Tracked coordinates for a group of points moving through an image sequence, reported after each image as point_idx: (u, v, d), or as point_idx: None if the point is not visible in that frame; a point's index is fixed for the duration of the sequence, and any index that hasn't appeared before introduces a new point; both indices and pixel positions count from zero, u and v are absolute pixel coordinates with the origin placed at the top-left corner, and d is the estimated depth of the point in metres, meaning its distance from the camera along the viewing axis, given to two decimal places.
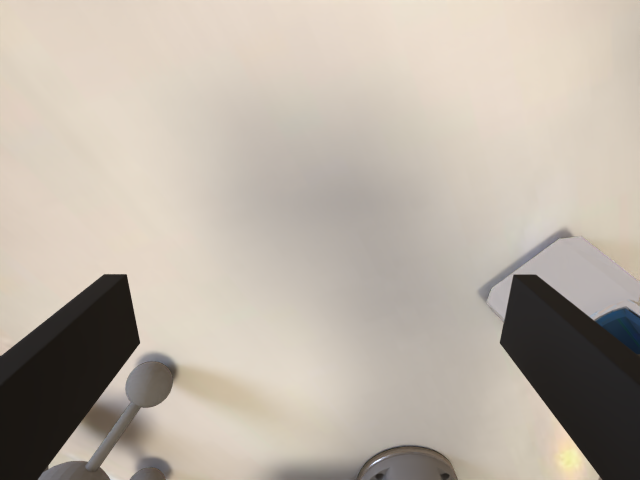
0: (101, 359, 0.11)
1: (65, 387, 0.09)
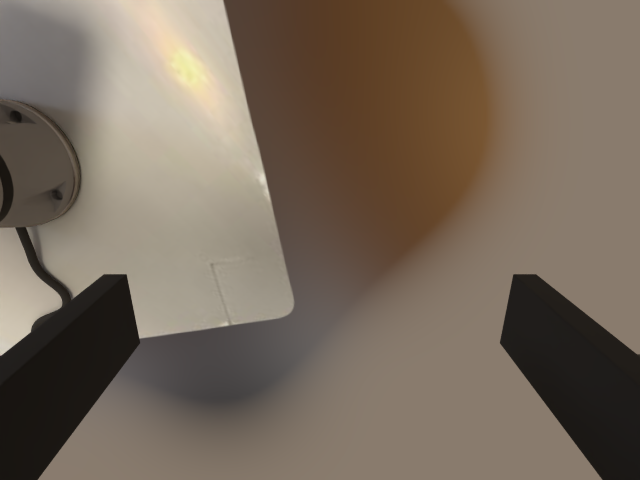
0: (101, 359, 0.11)
1: (65, 387, 0.09)
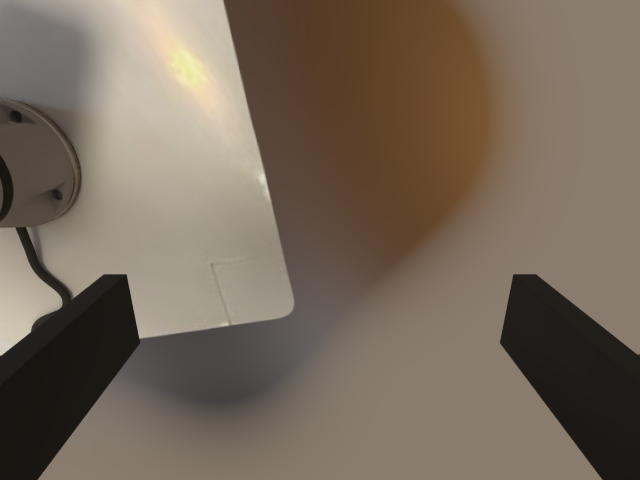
0: (101, 359, 0.11)
1: (65, 387, 0.09)
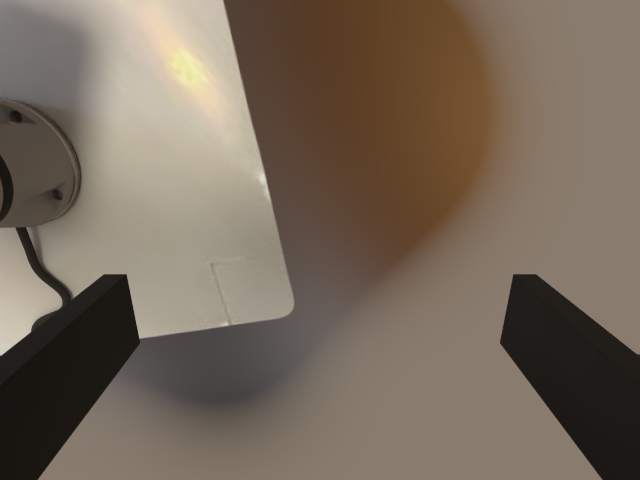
0: (101, 359, 0.11)
1: (65, 387, 0.09)
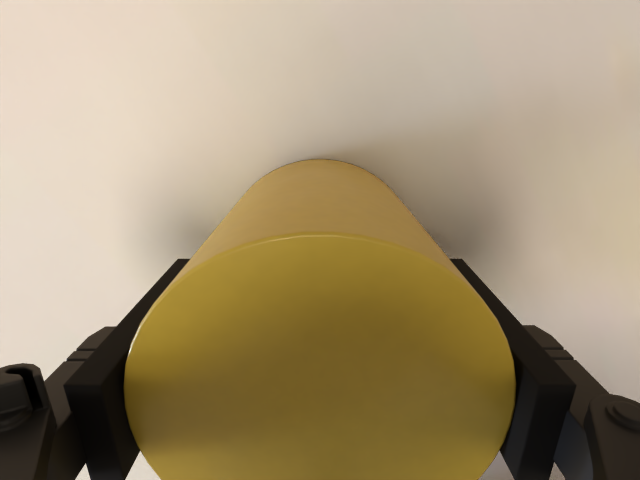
0: None
1: None
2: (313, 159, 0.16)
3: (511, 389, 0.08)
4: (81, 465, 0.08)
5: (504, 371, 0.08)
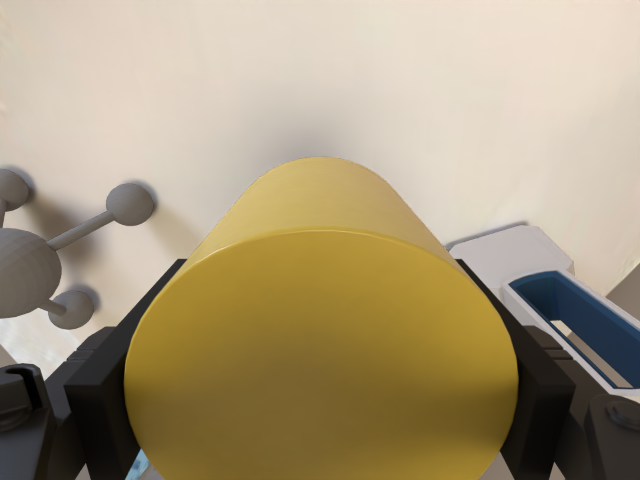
0: None
1: None
2: None
3: (514, 386, 0.08)
4: (81, 465, 0.08)
5: (507, 367, 0.08)
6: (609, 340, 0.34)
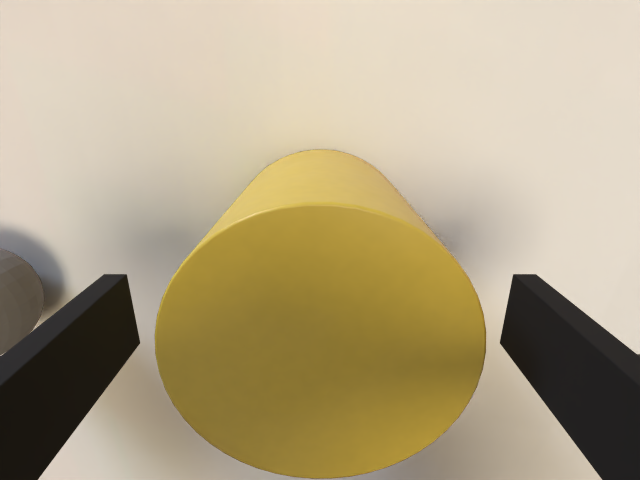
0: (101, 359, 0.11)
1: (65, 388, 0.09)
2: None
3: (482, 338, 0.10)
4: None
5: (475, 322, 0.10)
6: None
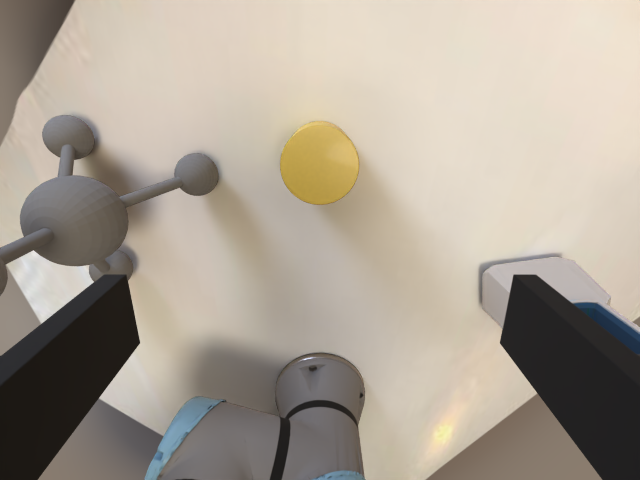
0: (101, 359, 0.11)
1: (65, 387, 0.09)
2: (317, 121, 0.50)
3: (357, 159, 0.42)
4: None
5: (355, 155, 0.41)
6: None
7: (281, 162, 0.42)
